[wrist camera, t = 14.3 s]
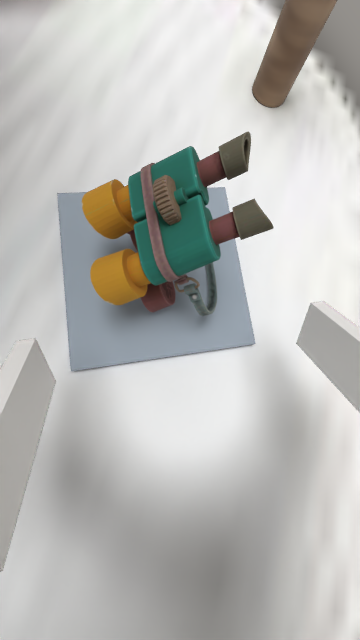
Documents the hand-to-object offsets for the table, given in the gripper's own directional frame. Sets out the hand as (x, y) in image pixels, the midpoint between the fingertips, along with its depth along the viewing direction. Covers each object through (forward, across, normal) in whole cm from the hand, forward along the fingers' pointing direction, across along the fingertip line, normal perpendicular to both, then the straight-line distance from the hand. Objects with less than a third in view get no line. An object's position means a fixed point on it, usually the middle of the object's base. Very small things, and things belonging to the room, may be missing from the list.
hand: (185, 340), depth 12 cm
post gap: (+22, 0, +12) cm, 25 cm away
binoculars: (+9, 0, 0) cm, 9 cm away
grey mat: (+10, 0, 0) cm, 10 cm away
